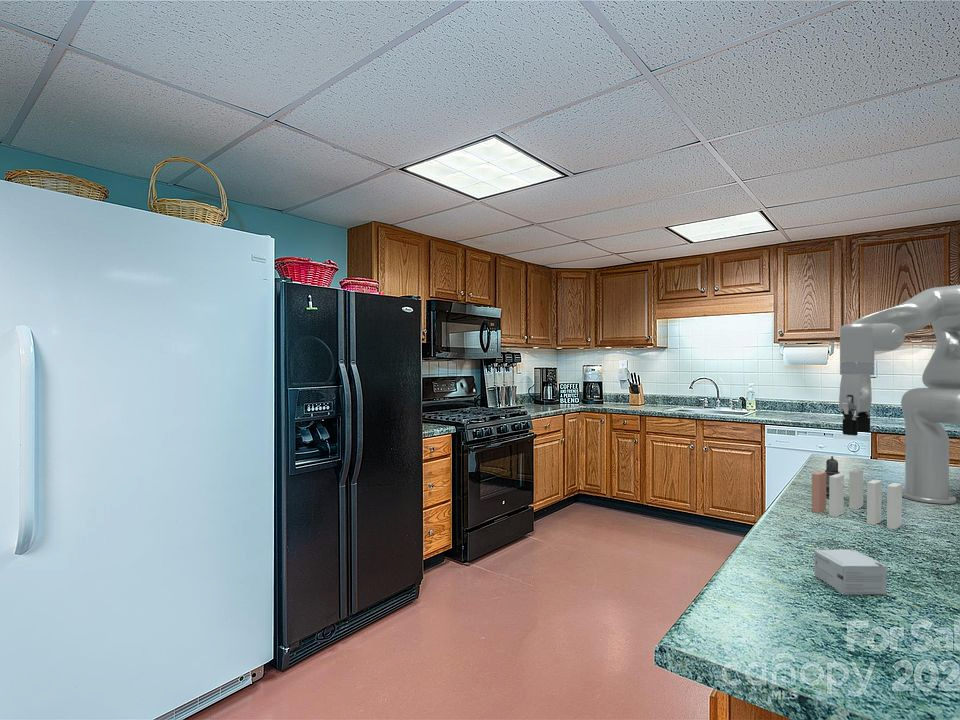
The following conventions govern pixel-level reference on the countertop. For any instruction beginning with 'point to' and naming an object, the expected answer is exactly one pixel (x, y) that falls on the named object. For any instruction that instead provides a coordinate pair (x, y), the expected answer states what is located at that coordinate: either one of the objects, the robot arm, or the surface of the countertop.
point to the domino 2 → (856, 489)
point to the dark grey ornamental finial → (830, 471)
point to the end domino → (818, 492)
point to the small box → (850, 571)
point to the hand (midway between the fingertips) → (856, 433)
